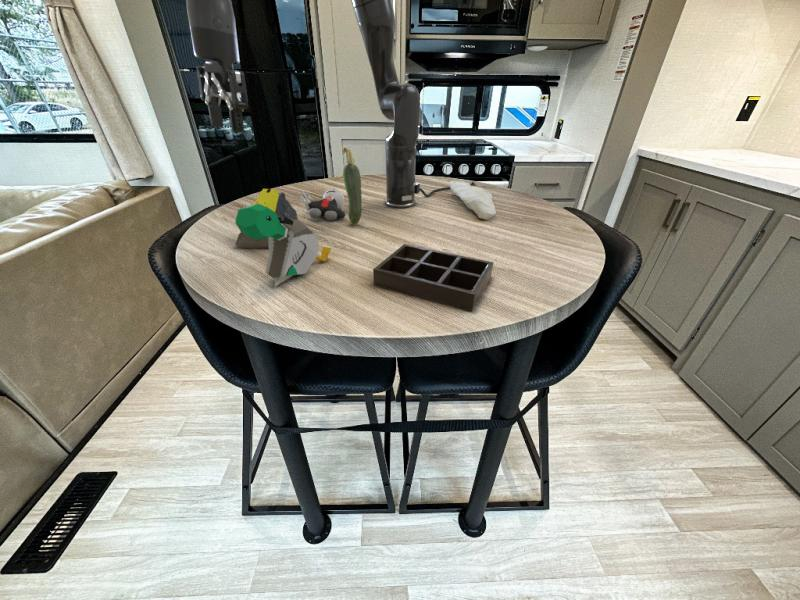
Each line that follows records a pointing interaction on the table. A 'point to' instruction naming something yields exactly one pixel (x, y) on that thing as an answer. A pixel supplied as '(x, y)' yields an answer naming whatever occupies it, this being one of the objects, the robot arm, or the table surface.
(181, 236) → the table surface
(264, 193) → the toy
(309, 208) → the toy
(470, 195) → the rock
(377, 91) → the robot arm
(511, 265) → the table surface
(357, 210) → the vegetable
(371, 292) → the table surface
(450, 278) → the brown compartment tray
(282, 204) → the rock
